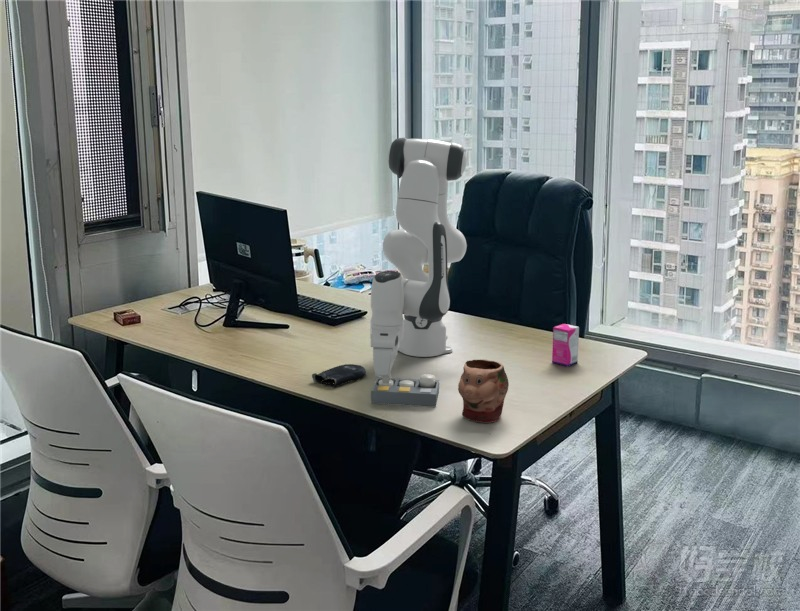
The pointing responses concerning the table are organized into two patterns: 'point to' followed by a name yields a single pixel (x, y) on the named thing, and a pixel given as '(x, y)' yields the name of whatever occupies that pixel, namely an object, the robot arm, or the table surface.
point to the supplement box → (565, 344)
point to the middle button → (406, 383)
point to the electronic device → (340, 374)
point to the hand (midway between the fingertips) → (386, 381)
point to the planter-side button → (427, 381)
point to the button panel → (404, 393)
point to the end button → (386, 384)
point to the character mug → (483, 390)
